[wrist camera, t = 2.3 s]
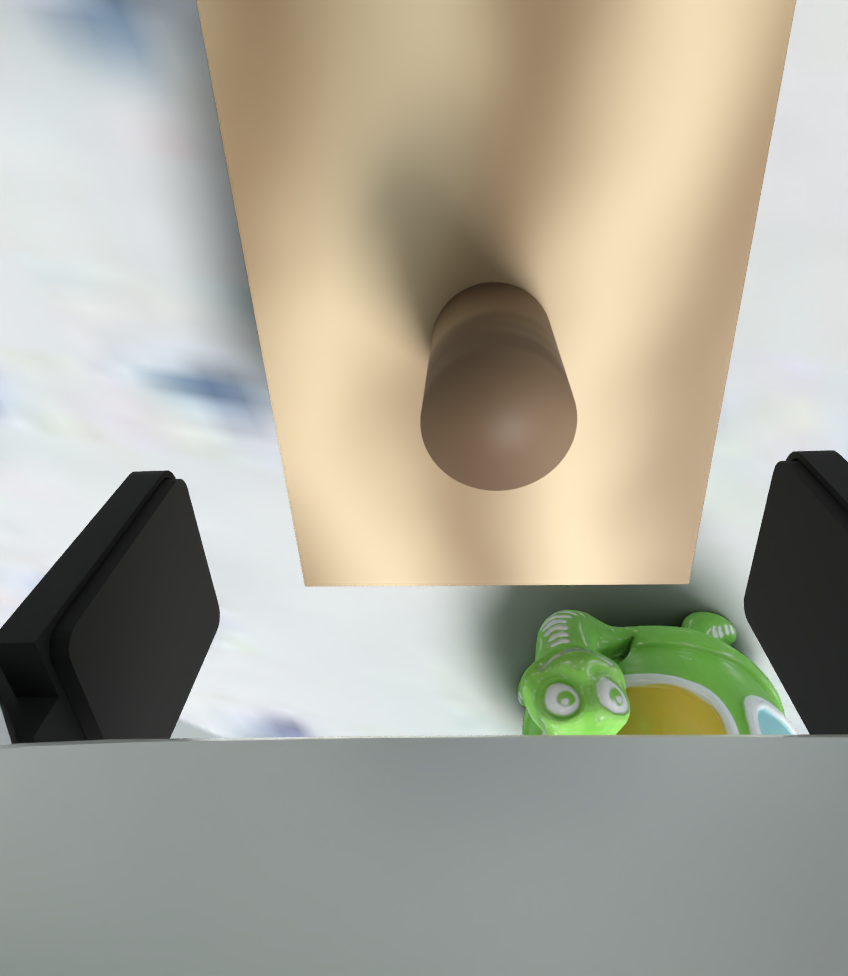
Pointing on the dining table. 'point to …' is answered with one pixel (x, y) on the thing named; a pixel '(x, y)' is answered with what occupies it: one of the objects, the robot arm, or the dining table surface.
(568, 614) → the turtle holder
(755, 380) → the dining table surface
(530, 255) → the lid
